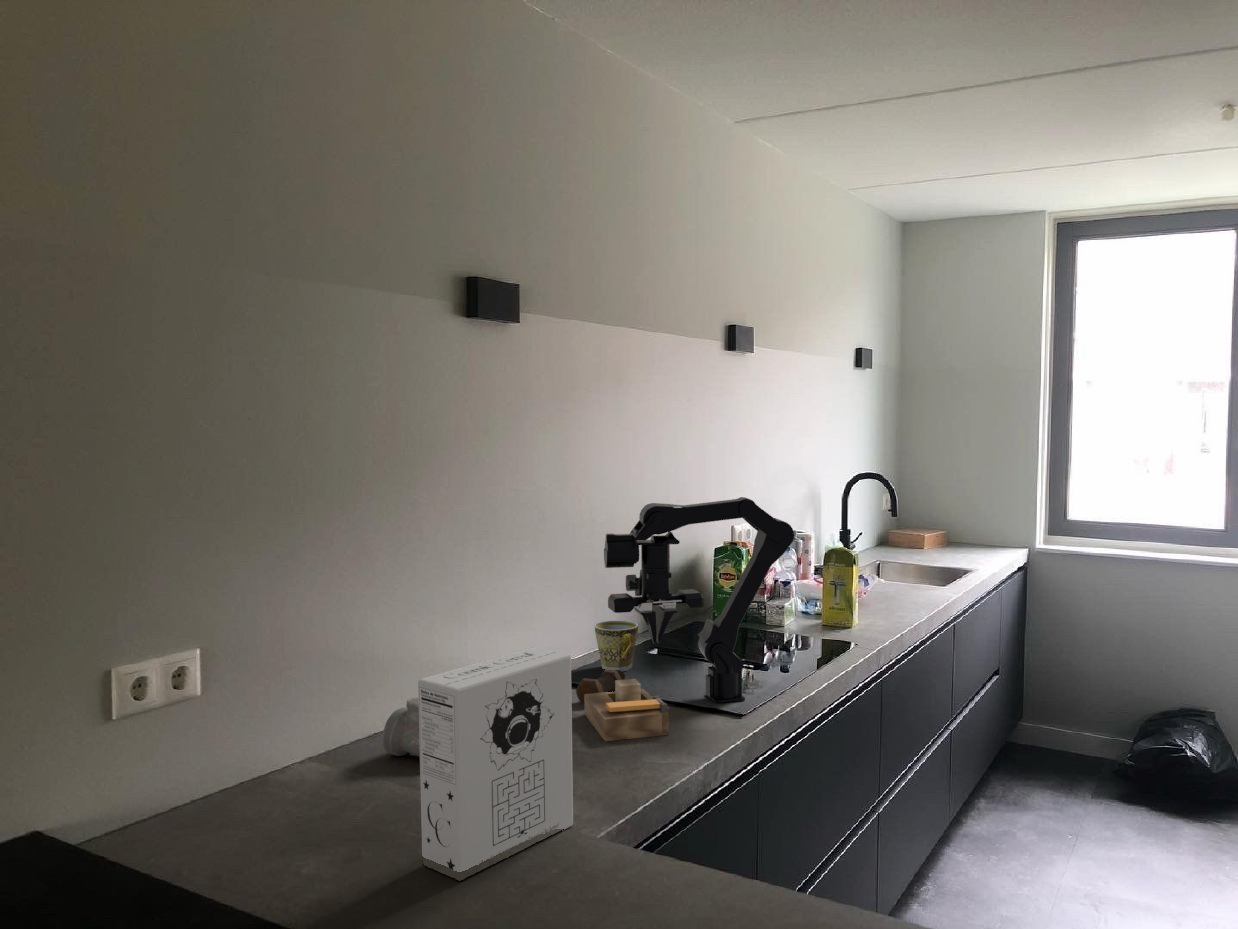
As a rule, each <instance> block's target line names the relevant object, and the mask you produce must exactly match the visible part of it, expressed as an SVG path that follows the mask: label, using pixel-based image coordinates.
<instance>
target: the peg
mask: <svg viewBox="0 0 1238 929" xmlns="http://www.w3.org/2000/svg"><path fill="white" fill-rule="evenodd" d="M641 689H642V684H641V683H640V682H639V681H638V680H637V679H636V678H629V679H626V678H625V680H615V702H625V701H638V700H641Z"/></svg>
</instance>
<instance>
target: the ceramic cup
mask: <svg viewBox="0 0 1238 929" xmlns="http://www.w3.org/2000/svg"><path fill="white" fill-rule="evenodd" d="M594 632H595V639H596V643H597V648H598V653H599V654H598V655H599V659H600V664H601V665H600V666H601V668H602V670H604V669H605V670H620V671H621V672H622V673H623V672H628V671H629V670H631V669H632V667H633V663H634V657H635V650H636V643H637V640H638V632H639V624H638V623H636V622H634V621H630V620H617V619H616V620H604V621H600V622H598V623H595V625H594ZM605 670H604V671H605Z"/></svg>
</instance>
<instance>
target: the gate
mask: <svg viewBox="0 0 1238 929" xmlns="http://www.w3.org/2000/svg"><path fill="white" fill-rule="evenodd" d="M661 703H665V702H664V701H663V700H662V699H661V698H656V699H652V700H638V701H625V702H611V703H606V708H607V709H608V710H609V711H610V712H617V711H630V710H643V709H656V708H661Z"/></svg>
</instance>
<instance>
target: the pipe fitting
mask: <svg viewBox="0 0 1238 929" xmlns="http://www.w3.org/2000/svg"><path fill="white" fill-rule="evenodd" d="M381 738H382V739H381V742H382V747H383V749H384V751H385V752H386V753H388V754H390V755H392V756H396V757H402V756H405V755H408V754H411V755H414V756H417V757H419V758H420V742H419V700H418V697H410V698H407V699H406V707H401V708H398V709H397V710H394V711H393V712H392V713H391V714H390V716H389V717H388V718H387V720H386V722H385V724H384V728H383V731H382V737H381Z"/></svg>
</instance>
